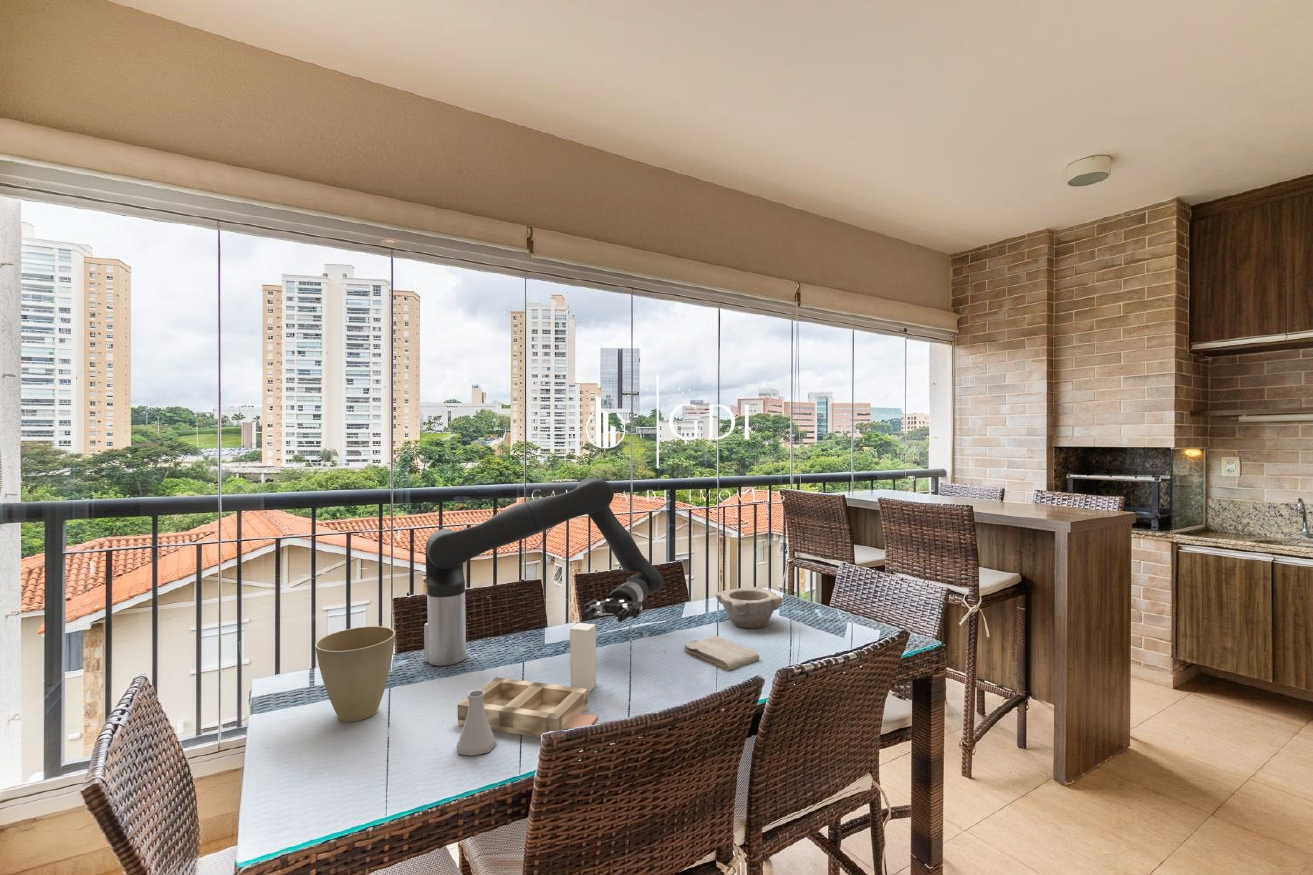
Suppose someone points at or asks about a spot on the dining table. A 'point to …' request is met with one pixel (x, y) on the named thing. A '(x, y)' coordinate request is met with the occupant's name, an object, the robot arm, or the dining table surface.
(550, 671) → the dining table surface
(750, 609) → the mortar
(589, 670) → the plug peg
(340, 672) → the plant pot
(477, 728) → the flask
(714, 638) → the washcloth
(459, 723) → the socket block
